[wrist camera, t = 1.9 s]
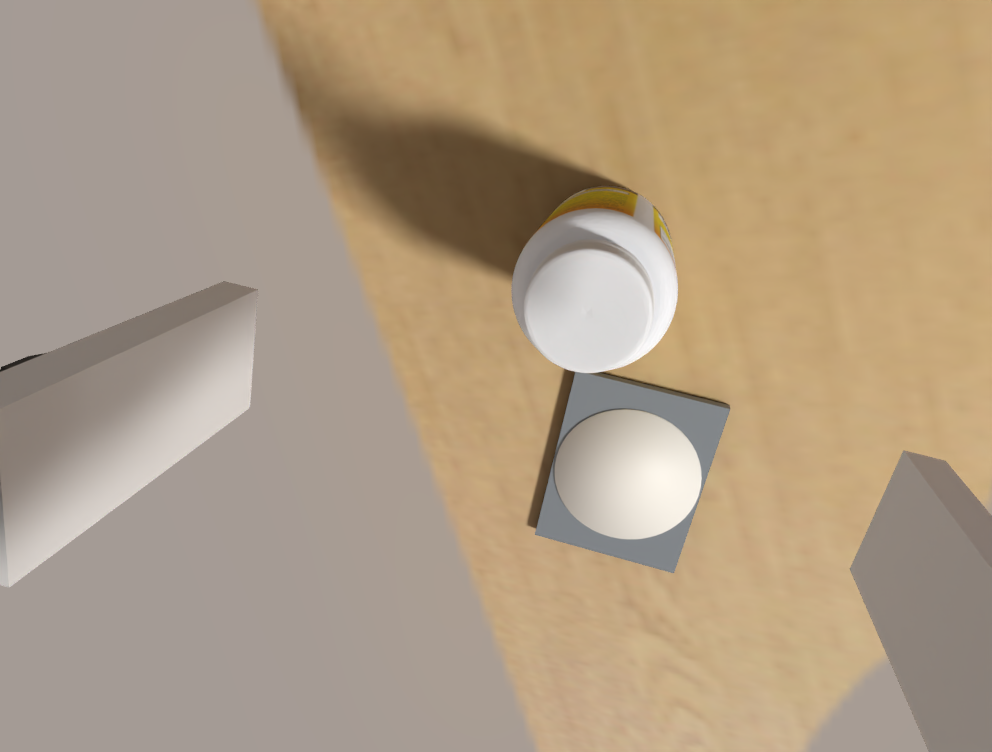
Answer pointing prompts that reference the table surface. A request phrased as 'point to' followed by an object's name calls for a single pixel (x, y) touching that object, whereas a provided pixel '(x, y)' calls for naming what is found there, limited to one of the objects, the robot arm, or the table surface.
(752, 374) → the table surface
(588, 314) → the supplement bottle
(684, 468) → the seat plate
